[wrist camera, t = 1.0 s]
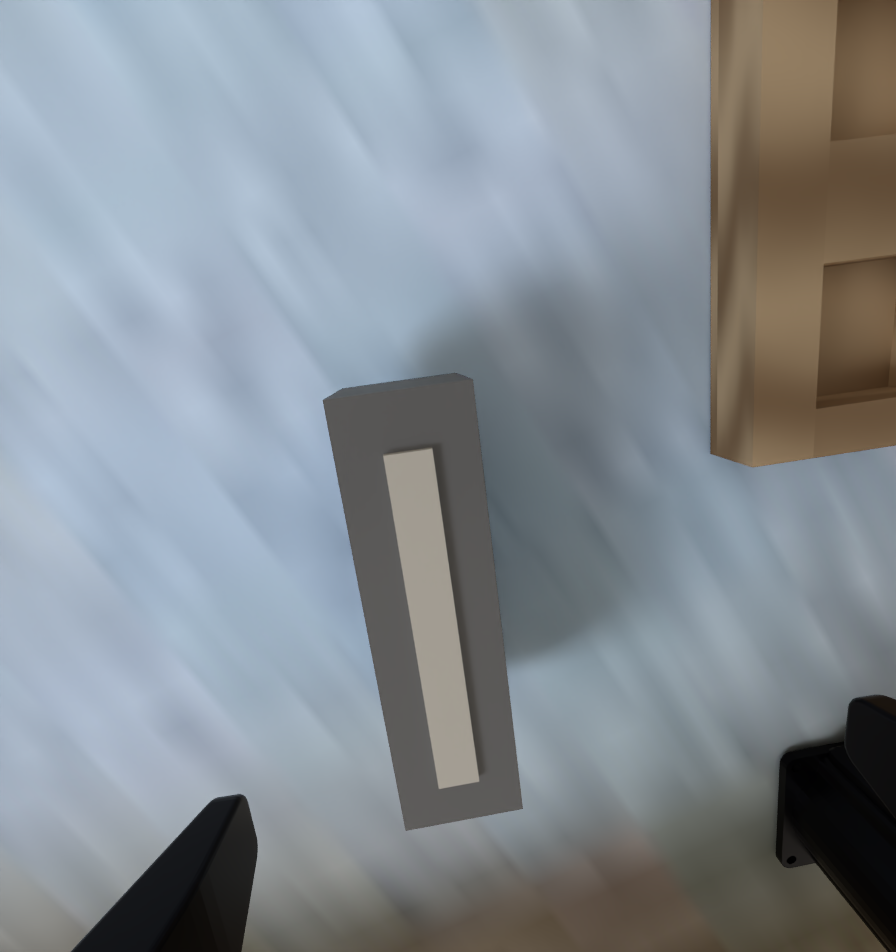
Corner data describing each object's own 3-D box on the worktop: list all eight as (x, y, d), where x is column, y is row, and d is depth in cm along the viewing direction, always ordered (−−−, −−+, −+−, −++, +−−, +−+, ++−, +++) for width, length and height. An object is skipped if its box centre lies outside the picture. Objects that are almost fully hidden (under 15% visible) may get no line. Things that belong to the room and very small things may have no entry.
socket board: (926, 420, 20) (995, 430, 18) (710, 453, 19) (752, 467, 17) (980, -74, 16) (1079, -147, 14) (711, -49, 15) (766, -119, 13)
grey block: (489, 682, 21) (524, 814, 15) (404, 697, 21) (405, 836, 15) (449, 370, 18) (473, 379, 12) (349, 384, 18) (321, 400, 12)
